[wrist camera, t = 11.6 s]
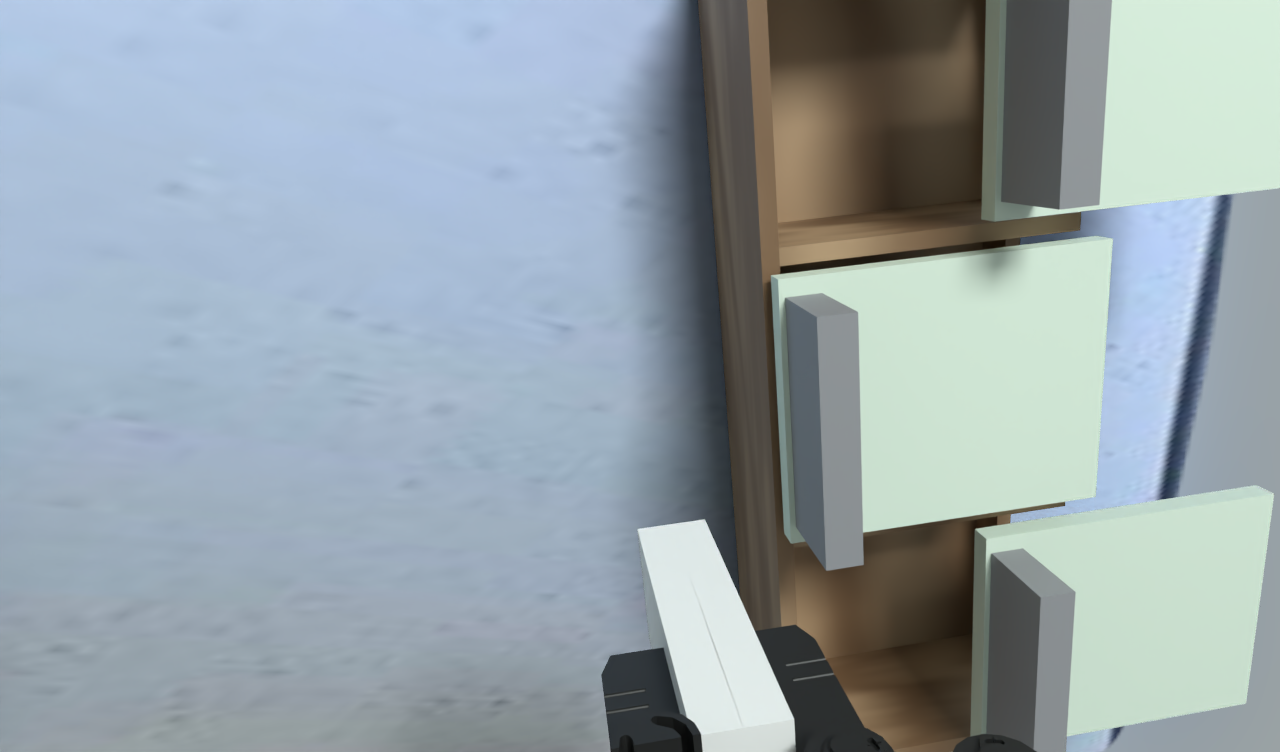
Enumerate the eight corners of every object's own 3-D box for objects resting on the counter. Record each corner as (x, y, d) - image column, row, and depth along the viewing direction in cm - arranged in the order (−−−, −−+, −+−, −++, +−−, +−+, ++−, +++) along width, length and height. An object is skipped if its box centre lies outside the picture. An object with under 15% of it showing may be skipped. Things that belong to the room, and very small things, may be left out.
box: (745, 672, 39) (790, 781, 33) (694, -53, 30) (741, -106, 24) (977, 633, 40) (1065, 731, 34) (993, -77, 31) (1119, -135, 25)
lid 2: (981, 219, 27) (1051, 231, 23) (988, -97, 24) (1068, -138, 21) (1294, 182, 28) (1407, 189, 24) (1333, -124, 25) (1467, -167, 22)
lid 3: (970, 737, 33) (1025, 812, 29) (974, 528, 30) (1036, 582, 27) (1229, 690, 34) (1313, 756, 30) (1256, 485, 31) (1351, 530, 28)
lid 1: (784, 533, 29) (820, 589, 26) (770, 275, 27) (808, 297, 23) (1081, 487, 30) (1156, 535, 27) (1096, 235, 28) (1182, 250, 24)
